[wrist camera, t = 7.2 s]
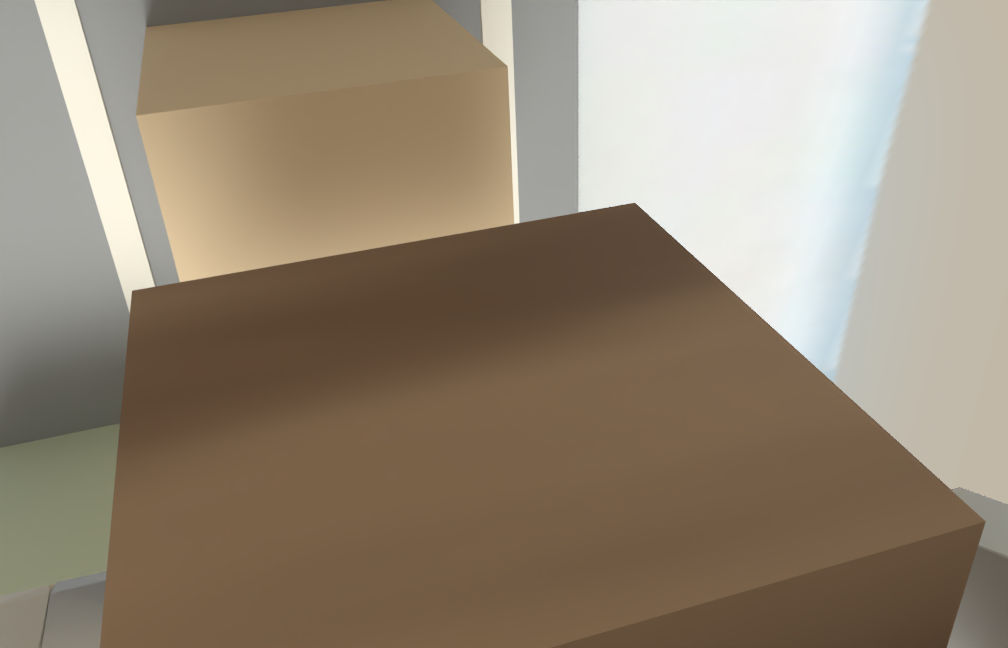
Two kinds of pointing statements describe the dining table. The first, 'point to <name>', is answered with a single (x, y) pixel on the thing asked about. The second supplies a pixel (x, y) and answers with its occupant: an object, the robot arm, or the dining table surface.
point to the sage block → (56, 508)
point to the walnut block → (509, 461)
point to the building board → (64, 240)
